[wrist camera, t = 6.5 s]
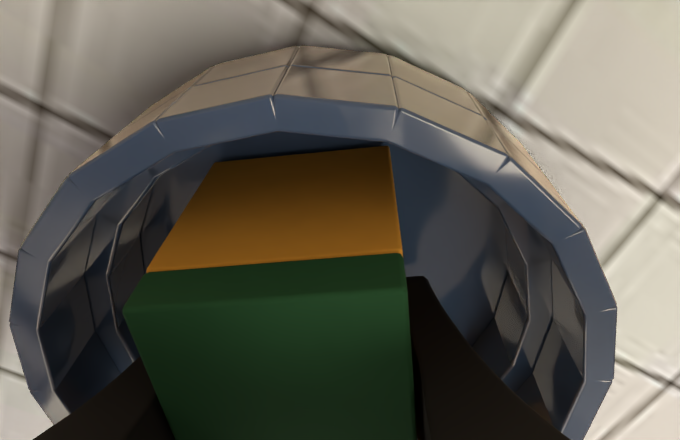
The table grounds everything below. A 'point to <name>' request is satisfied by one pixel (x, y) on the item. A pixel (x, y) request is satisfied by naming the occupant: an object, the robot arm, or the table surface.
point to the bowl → (413, 213)
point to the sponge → (282, 304)
